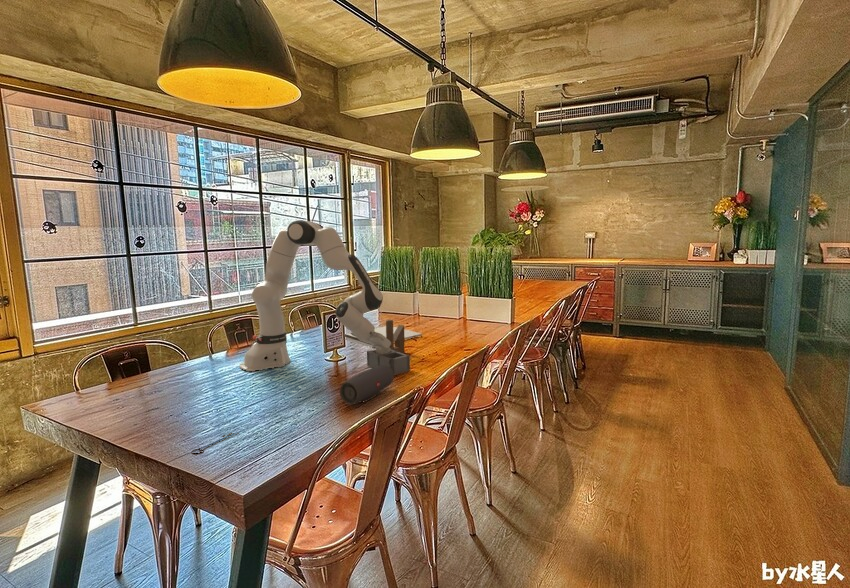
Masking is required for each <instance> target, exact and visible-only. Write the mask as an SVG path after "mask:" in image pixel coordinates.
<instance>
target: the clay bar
mask: <svg viewBox="0 0 850 588" xmlns="http://www.w3.org/2000/svg"><path fill="white" fill-rule="evenodd" d="M375 349H376V353H377V354H380V355H381V354H385V353H388V351H386V350H385V349H384V348H381V347H378V346H376V348H375Z"/></svg>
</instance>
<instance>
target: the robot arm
mask: <svg viewBox="0 0 850 588" xmlns="http://www.w3.org/2000/svg"><path fill="white" fill-rule="evenodd" d="M301 246H304V247H305V246H306V247H308V246H309V247H316V248H317V249H318V251H319V253H320V256H321V259H322V260H323V263H324V264H325V266H326V267H327V268H328V269H331V270H333V271H350V272H352V273H353V275H354V276H355V277H356V280H357V281H358V282H359V285H360V286H361V287H362V289H361V290H360V291H358V292H355V293H353V294H351V295H349V296H346V298H344V300H343V301H341V303H339V304H338V305H337V307H336V309H335V316H336V318H337V320H339V322H340V323H341V324H342V325H343V326H344V327H345V329H347V330H349V331H350V332H349V333H351V334H352V335H353V336H355V337H357V338H358V339H359V340H360V341H363V342H366V343H369V344H371V345H373V346H374V347H375V348H374V349H376V346H378V347H381V348H384V349H385V350H386V351H388V352H390V351H391V348H390V345H391V342H390V341H389V340H388V339H387V338H386V337H385V336H383V335H382V334H380V333H377V332H375V328H376V327H375V324H373V323H372V322H371V321H370V320H369V319H368V318H367V317H365V316H364V314H366V313H369V312H370V311H373V310H377V309H380V308H381V305H382V304H383V300H384V297H383V294H382V292H381V290H380V289H379V288H378V287H377V285H376V284H375V283H374V281H373V279H371V277H370V275H369V274H368V271H367V270H366V269H365V267H364V265H363V264H362V263H361V260H359V258H358V257H357V256H356V255H355V254H350V253H349V251H348V250H347V248H346V246H345V244H344V242H343V240H342V238H341V237H340V234H339V233H338V232H337V230H336V229H335V228H334V227H331V226H326V227H324V226H322V225H321V224H320V223H318V222H314V221H310V220H301V219H298V220H294V221H292V222H291V223H289V225H288V226H287V228H282V229H280V230H279V231H278V233H277V235H276V236H275V239H274V240H273V243H272V245H271V248H270V251H269V254H268V257H267V260H266V264H265V274H264V275H265V276H264V280H263V282H260V283H258V284H257V285H256V286H255V287H254V289H253V290H252V293H251V298H252V300H253V303H255V307H256V311H257V315H258V320H259V321H258V322H259V323H258V324H259V334H258V335H256V334H254V335H252V339H253V340H255V341H256V343H255V344H254V345H253V346H251V347H250V348H248V350H247V351H246V352H245V354H244V358H243V359H244V360H243V362H240V363H239V365H238V366H239V369H240V370H242V369H243V370H242V371H244V370H246V371H245V372H249V371H252V372H256V371H255V370H259V371H262V370H261V369H265V370H268V369H267V368H272V369H275V368H274V367H278V368H282V366H284V367H285V366H286V365H288V364H289V363H290V362H291V358H290V356H289V355H290V354H289V351H288V347H287V339H288V337H287V332H286V325H285V315H284V313H283V310H282V306H281V301H282V300H283V299H284V298H285V297H286V294H287V292H288V290H287V289H288V285H289V279H290V275H291V271H292V268H293V265H294V261H295V259H296V256H297V252H298V249H299V248H300V247H301ZM285 364H286V365H285Z"/></svg>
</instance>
